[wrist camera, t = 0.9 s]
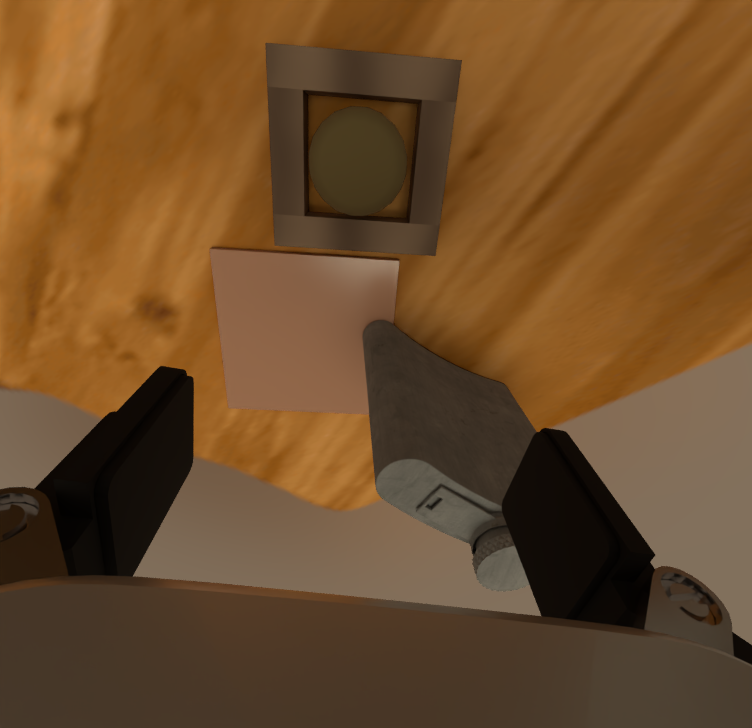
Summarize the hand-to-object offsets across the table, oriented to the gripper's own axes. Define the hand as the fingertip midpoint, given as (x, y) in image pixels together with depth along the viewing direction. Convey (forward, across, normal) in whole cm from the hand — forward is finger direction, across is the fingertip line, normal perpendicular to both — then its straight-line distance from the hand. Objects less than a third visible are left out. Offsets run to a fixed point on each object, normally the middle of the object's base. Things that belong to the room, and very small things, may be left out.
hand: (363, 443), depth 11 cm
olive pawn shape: (+25, +2, -6) cm, 26 cm away
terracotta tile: (+25, +4, +9) cm, 26 cm away
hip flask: (+24, -9, +9) cm, 27 cm away
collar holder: (+24, +2, -6) cm, 25 cm away
